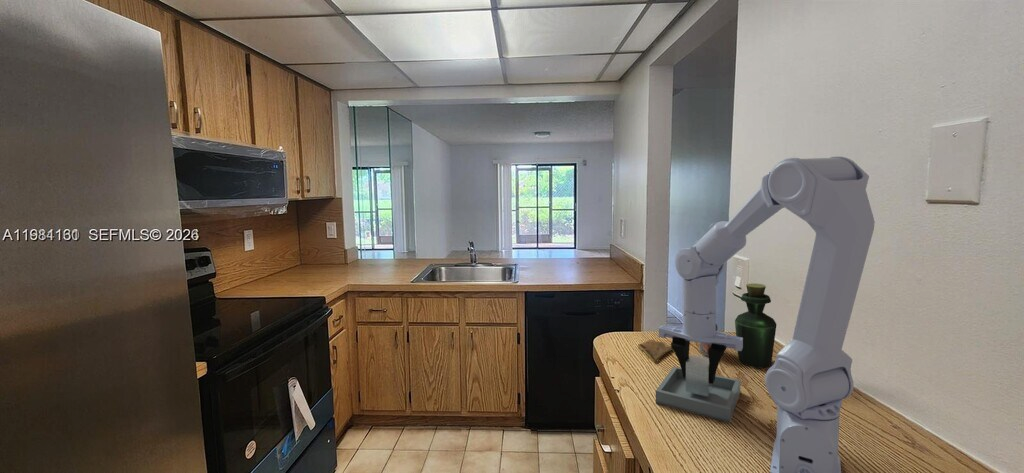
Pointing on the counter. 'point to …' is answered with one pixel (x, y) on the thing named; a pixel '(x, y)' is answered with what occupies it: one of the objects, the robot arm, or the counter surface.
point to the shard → (654, 349)
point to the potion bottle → (756, 329)
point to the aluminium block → (698, 375)
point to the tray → (700, 396)
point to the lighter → (705, 347)
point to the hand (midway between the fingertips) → (698, 378)
